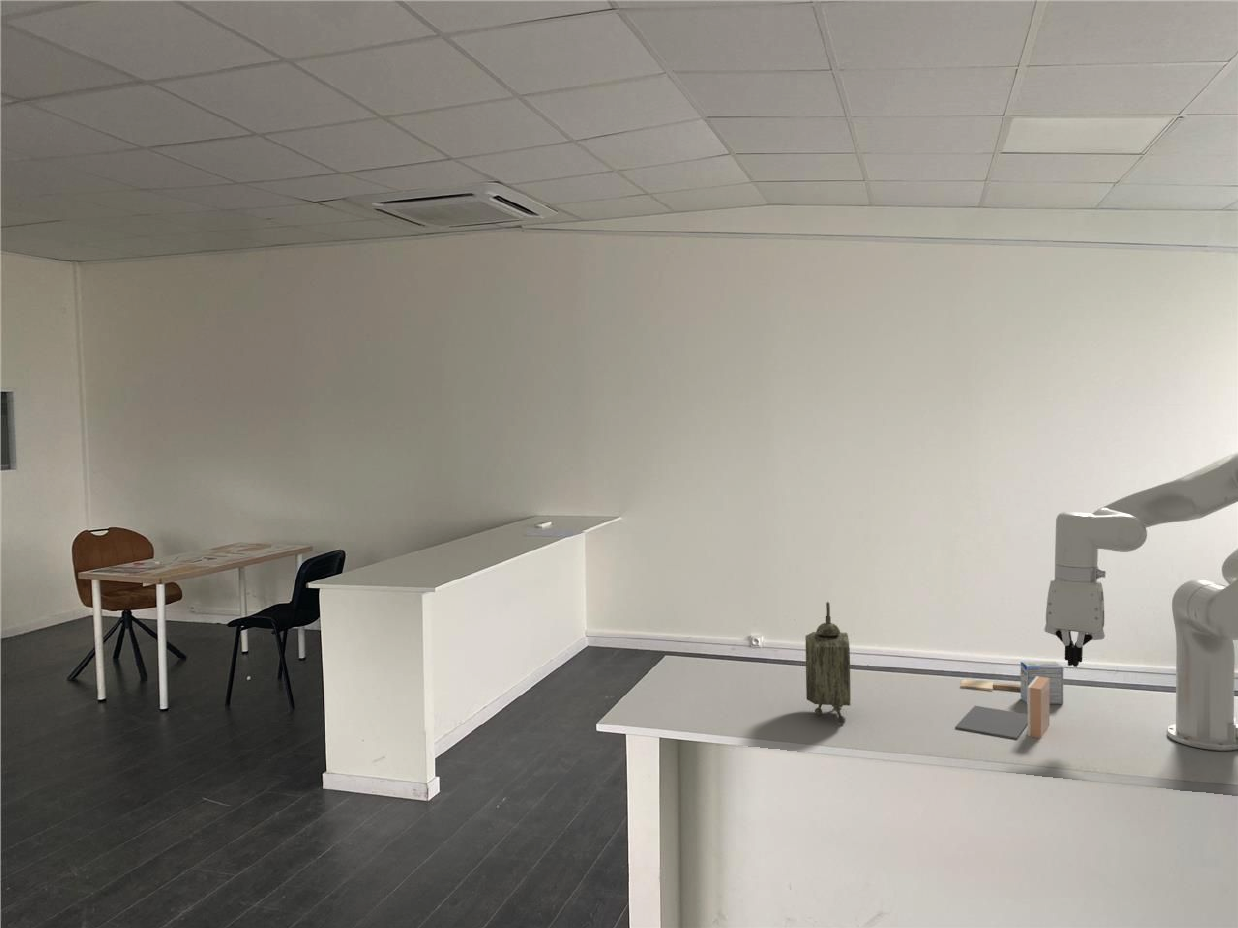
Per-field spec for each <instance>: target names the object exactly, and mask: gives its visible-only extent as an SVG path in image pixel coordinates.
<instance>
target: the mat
mask: <svg viewBox="0 0 1238 928" xmlns="http://www.w3.org/2000/svg"><path fill="white" fill-rule="evenodd" d="M1026 728H1028V713H1023V712H1016V711H1010V710H1004V709H999V708H998V709H997V708H992V707H986V706H979V705H974V706H973V707H972V708H971V709H970V710H969V712H967V713H966V714H965V716H964V717H962V719H960V721H959V722H958V723H957V724H956V725H955V727H954V729H956V730H960V731H966V732H967V731H968V732H973V733H978V734H983V735H989V736H995V737H998V738H1000V737H1001V738H1006V739H1011V740H1019V737H1020V736H1021V735H1022V733H1023V732H1024V731H1025V729H1026Z"/></svg>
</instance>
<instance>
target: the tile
mask: <svg viewBox="0 0 1238 928" xmlns="http://www.w3.org/2000/svg"><path fill="white" fill-rule="evenodd" d="M1026 704H1027V714H1028V725H1027V736H1028V737H1033V738H1036V739H1037V738H1038V739H1042V737H1043V736H1044V734H1045V733H1046V731H1047V730H1048V728H1049V727H1050V704H1049V678H1046V677H1039V676H1036V677H1035V678H1034V680H1033V681H1032V682H1031V683H1030V685H1029V686H1028V687H1027V703H1026Z"/></svg>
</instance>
